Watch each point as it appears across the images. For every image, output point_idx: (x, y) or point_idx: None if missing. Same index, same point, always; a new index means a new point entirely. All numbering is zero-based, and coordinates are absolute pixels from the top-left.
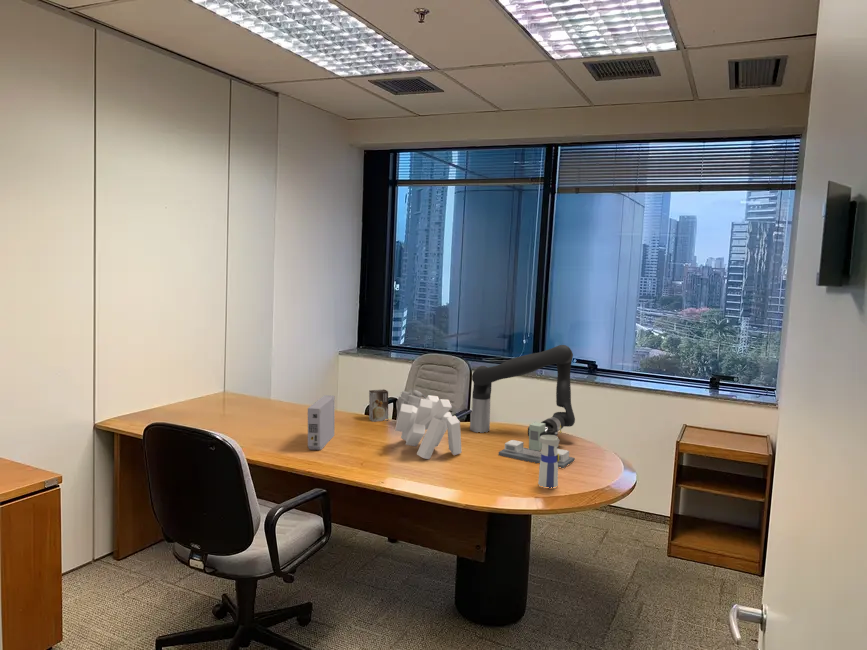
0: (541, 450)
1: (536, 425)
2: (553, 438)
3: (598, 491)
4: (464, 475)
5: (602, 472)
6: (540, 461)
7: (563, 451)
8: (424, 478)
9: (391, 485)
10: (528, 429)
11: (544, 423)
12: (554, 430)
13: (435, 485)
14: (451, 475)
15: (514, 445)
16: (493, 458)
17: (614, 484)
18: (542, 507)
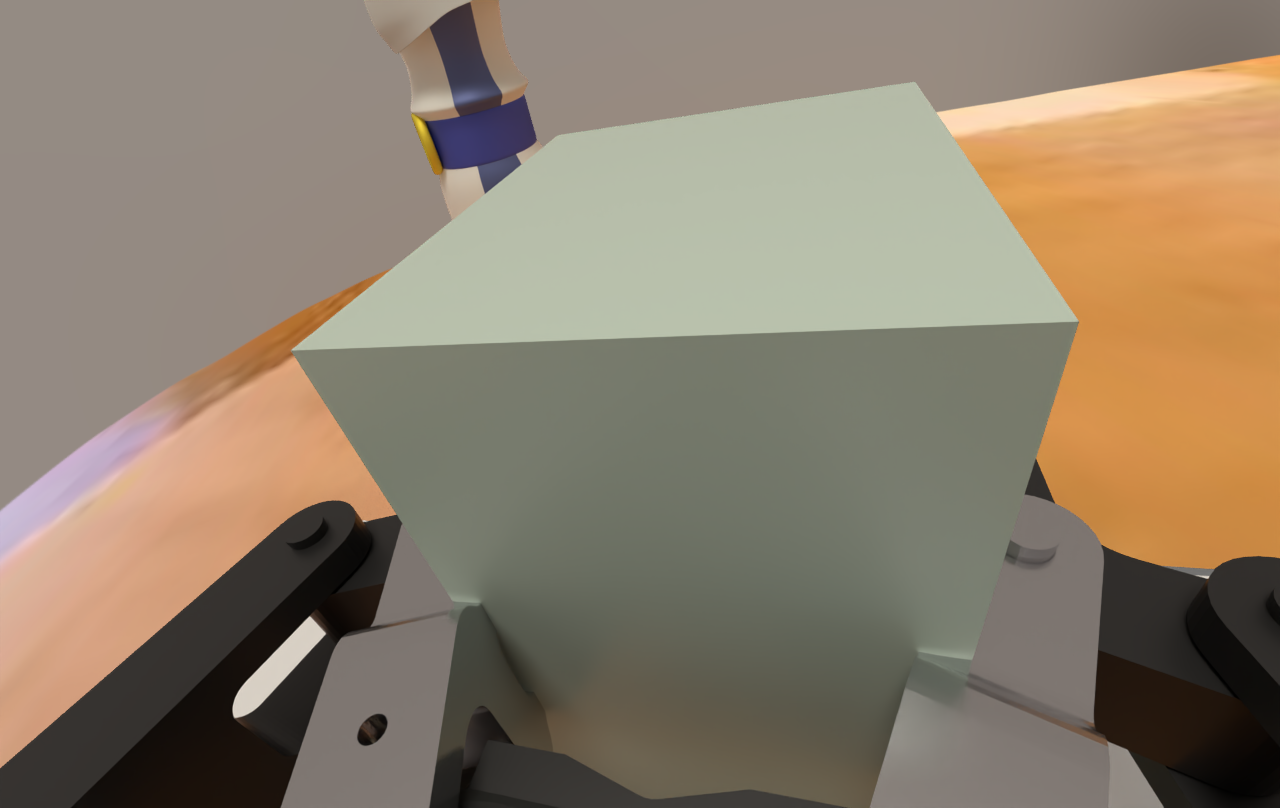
0: (516, 67)
1: (668, 126)
2: (401, 1)
3: (286, 348)
4: (1012, 198)
5: (39, 632)
6: (542, 147)
7: (270, 665)
8: (1131, 126)
9: (1145, 78)
10: (1256, 597)
11: (351, 324)
12: (11, 806)
13: (1006, 128)
14: (1069, 176)
15: (1204, 577)
16: (1243, 475)
17: (128, 451)
18: None
